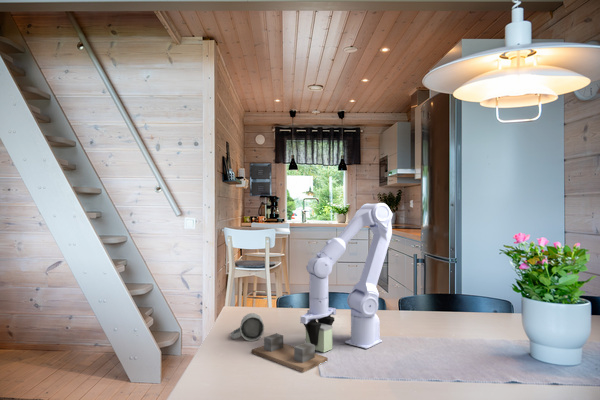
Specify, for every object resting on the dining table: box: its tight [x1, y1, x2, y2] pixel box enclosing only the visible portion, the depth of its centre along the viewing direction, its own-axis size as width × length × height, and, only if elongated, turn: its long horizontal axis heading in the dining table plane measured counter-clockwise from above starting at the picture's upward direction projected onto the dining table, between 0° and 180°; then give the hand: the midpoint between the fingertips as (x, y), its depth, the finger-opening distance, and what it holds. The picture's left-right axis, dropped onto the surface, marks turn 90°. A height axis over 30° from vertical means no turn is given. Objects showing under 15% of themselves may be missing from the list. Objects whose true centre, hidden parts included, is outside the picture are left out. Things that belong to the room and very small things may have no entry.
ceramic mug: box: [230, 312, 265, 342], centre depth 126 cm, size 11×8×8 cm
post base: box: [251, 332, 328, 373], centre depth 109 cm, size 10×20×4 cm, turn 48°
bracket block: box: [305, 321, 333, 353], centre depth 116 cm, size 4×7×7 cm, turn 48°
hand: (318, 343), depth 116 cm, fingers closed on bracket block, 4 cm apart
